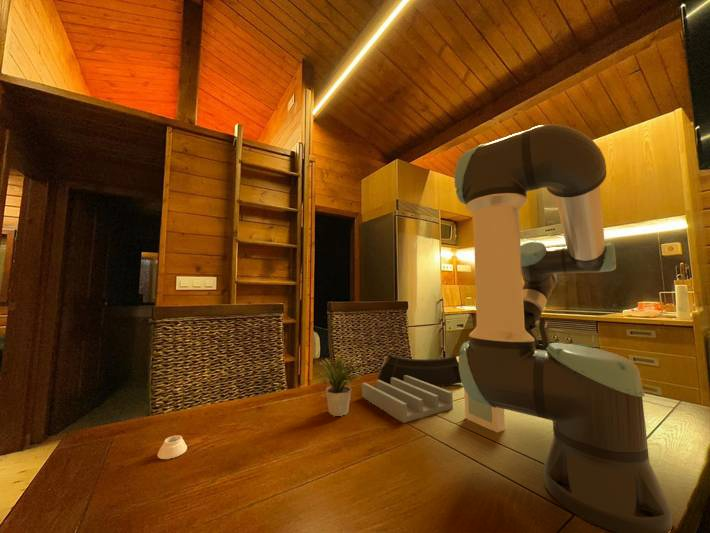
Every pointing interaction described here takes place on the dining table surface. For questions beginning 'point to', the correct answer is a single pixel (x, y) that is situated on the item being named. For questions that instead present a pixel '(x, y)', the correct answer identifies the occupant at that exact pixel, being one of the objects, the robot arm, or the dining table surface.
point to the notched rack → (408, 398)
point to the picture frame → (484, 414)
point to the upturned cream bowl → (172, 447)
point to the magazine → (421, 370)
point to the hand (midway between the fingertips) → (500, 364)
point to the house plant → (339, 385)
